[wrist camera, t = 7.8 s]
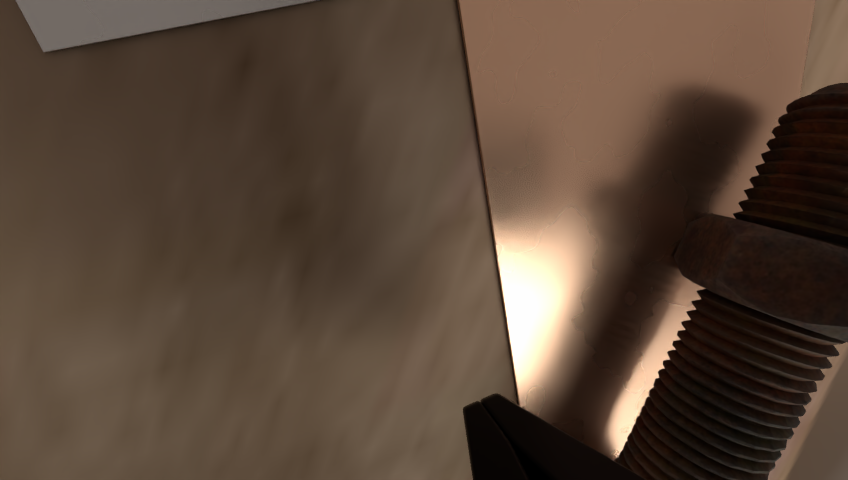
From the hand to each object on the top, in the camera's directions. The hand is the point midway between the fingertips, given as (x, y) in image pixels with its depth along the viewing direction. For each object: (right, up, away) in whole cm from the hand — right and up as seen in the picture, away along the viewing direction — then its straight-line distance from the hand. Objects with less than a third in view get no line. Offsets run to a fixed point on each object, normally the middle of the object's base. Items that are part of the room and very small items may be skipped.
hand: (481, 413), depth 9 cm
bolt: (+7, +1, +5) cm, 8 cm away
